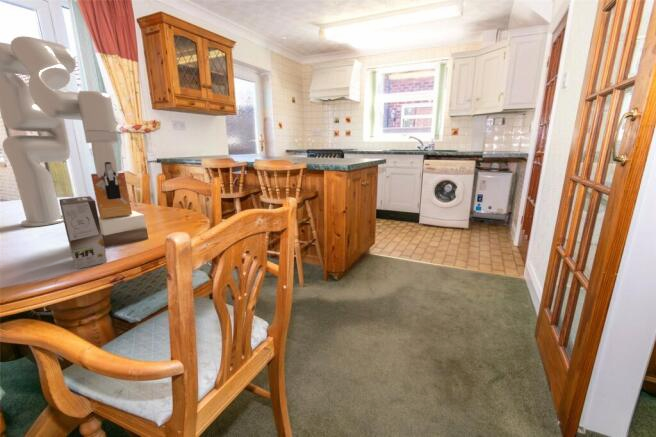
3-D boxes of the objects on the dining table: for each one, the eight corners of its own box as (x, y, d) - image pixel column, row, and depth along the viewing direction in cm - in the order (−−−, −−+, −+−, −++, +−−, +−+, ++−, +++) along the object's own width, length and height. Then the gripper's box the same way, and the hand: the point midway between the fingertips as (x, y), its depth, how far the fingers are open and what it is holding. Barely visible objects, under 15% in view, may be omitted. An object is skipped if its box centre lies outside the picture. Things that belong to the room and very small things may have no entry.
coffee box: (108, 262, 75) (96, 200, 71) (75, 269, 71) (60, 204, 67) (102, 253, 81) (90, 195, 77) (72, 259, 77) (57, 198, 73)
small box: (100, 219, 86) (90, 174, 83) (99, 216, 91) (90, 173, 88) (133, 214, 91) (124, 171, 88) (130, 211, 96) (122, 171, 93)
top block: (93, 228, 92) (90, 216, 91) (133, 221, 100) (131, 209, 99) (104, 235, 85) (101, 222, 84) (146, 227, 93) (144, 214, 92)
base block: (98, 239, 94) (95, 227, 93) (141, 231, 102) (139, 220, 101) (101, 249, 86) (98, 236, 84) (148, 240, 93) (146, 228, 92)
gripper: (84, 138, 89) (96, 193, 94) (85, 137, 76) (98, 202, 81) (115, 138, 94) (124, 191, 98) (120, 137, 81) (131, 199, 85)
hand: (112, 196), depth 89 cm, fingers open, 9 cm apart
